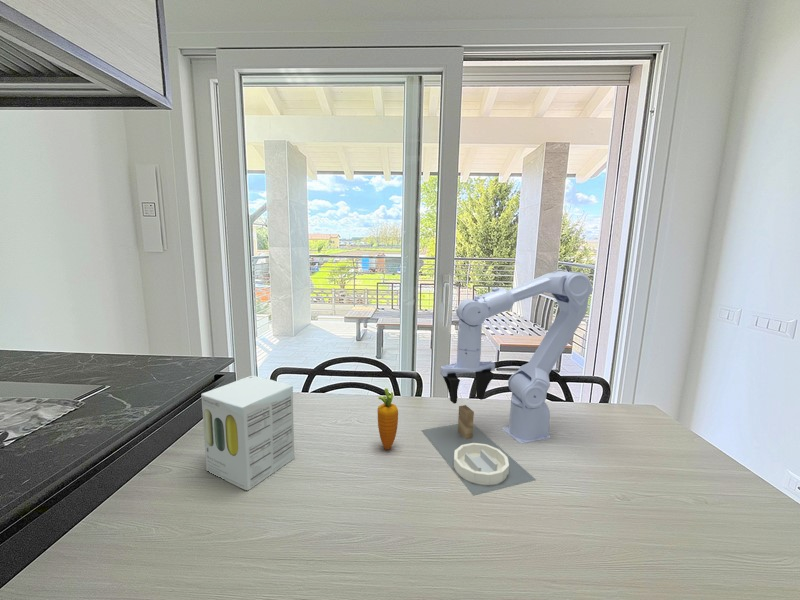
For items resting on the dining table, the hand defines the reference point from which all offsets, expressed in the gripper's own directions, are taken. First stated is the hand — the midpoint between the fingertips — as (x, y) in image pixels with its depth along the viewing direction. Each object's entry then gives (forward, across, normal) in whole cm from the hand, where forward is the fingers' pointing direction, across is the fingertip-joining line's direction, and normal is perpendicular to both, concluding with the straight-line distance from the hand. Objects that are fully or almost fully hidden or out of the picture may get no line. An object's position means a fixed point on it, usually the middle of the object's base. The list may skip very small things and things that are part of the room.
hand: (466, 399), depth 88 cm
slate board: (+10, +2, +8) cm, 13 cm away
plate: (+9, +4, +14) cm, 17 cm away
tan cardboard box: (+9, 0, 0) cm, 9 cm away
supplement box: (+10, +51, -4) cm, 52 cm away
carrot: (+10, +21, 0) cm, 23 cm away
